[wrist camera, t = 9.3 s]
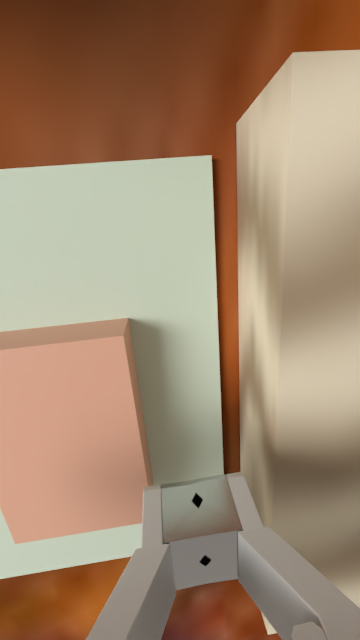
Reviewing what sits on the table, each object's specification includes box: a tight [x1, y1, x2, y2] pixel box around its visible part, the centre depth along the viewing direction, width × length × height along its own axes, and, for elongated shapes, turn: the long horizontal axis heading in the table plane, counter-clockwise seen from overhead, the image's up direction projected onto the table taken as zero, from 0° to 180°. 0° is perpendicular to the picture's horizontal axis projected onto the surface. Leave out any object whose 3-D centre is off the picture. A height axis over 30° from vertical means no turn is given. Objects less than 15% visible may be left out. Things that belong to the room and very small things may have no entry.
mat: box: [0, 155, 224, 579], centre depth 12 cm, size 20×14×1 cm
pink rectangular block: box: [0, 318, 153, 544], centre depth 11 cm, size 9×6×2 cm, turn 5°
